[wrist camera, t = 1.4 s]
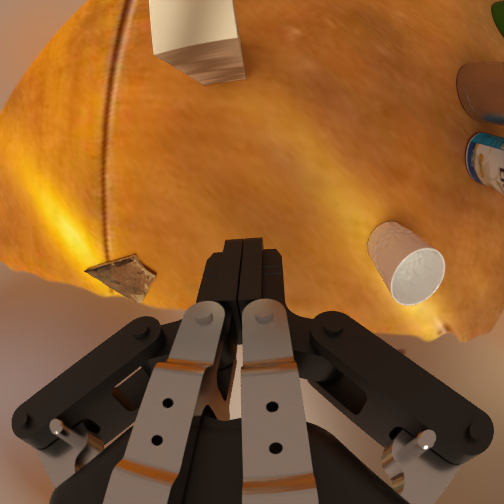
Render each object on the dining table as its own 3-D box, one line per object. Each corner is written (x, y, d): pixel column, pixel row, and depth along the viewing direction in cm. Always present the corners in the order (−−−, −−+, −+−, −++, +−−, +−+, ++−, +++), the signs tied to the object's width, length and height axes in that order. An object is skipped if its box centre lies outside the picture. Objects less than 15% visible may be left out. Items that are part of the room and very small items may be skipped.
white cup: (372, 274, 40) (397, 315, 31) (355, 232, 37) (383, 268, 28) (414, 251, 39) (448, 286, 30) (402, 207, 36) (440, 236, 27)
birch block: (240, 42, 27) (228, -26, 10) (246, 79, 29) (237, 37, 13) (199, 49, 27) (148, -8, 11) (203, 85, 29) (153, 54, 13)
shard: (87, 266, 41) (82, 272, 39) (100, 229, 38) (95, 234, 36) (143, 300, 43) (139, 307, 42) (161, 266, 40) (157, 272, 39)
